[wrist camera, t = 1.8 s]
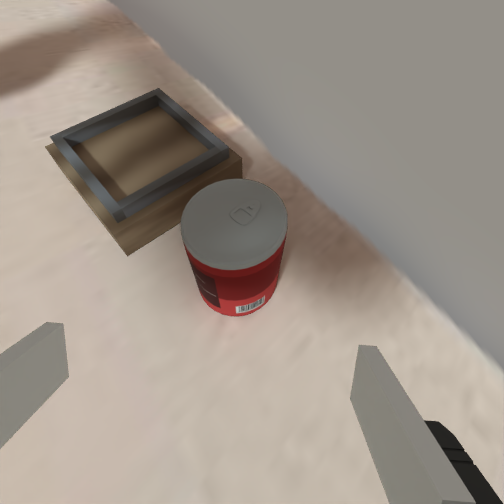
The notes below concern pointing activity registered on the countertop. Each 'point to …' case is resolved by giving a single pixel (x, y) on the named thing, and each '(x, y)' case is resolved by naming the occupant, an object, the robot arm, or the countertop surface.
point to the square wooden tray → (142, 165)
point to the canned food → (235, 243)
